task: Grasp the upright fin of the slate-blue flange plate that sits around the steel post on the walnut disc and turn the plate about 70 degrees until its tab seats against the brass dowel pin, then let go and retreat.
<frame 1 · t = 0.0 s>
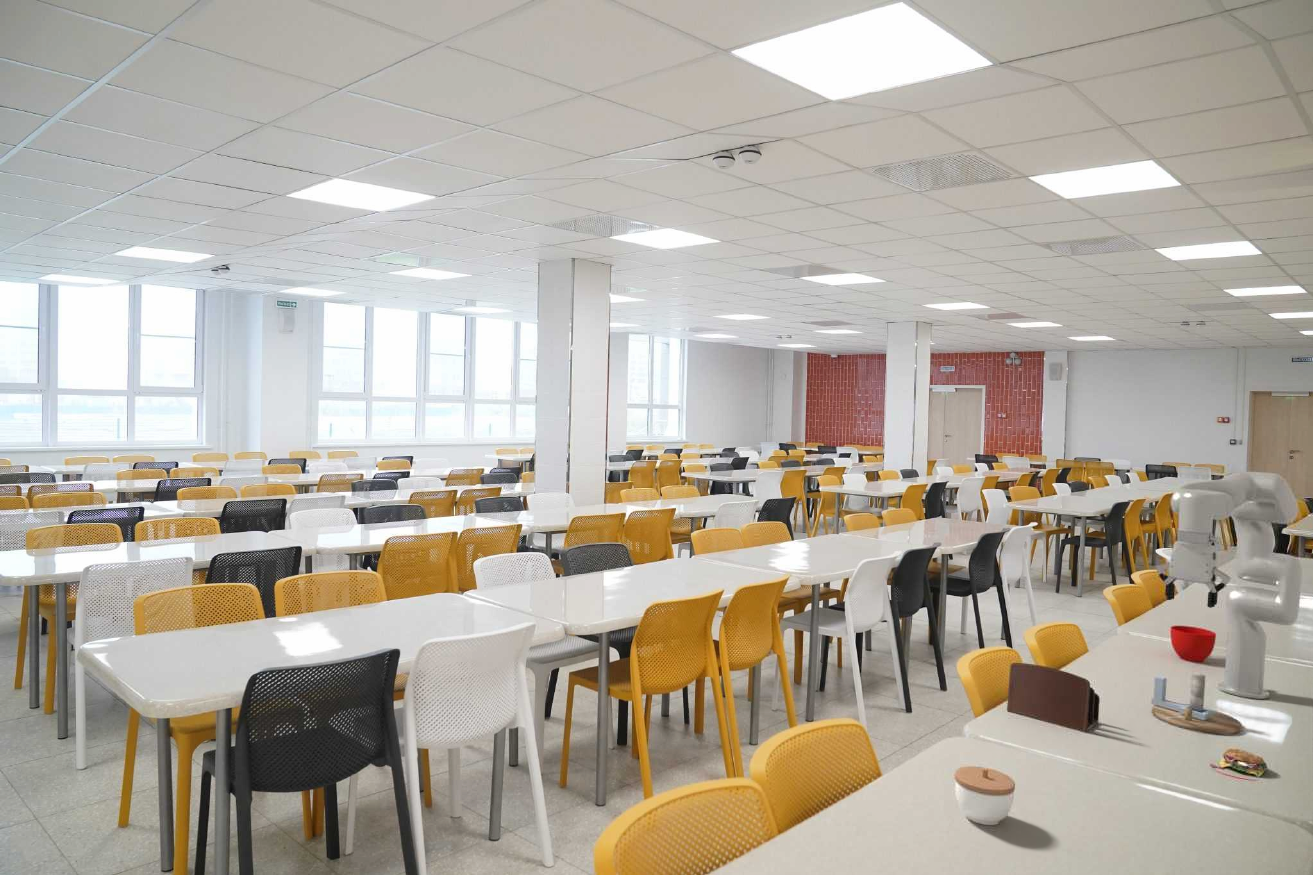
hand: (1190, 603, 222), 31 cm above the table, tool pointing down, fingers open, 9 cm apart
ceramic cup: (1191, 658, 288), on the table
hamburger: (1235, 770, 192), on the table
post base: (1195, 720, 223), on the table
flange: (1181, 696, 226), point 5 cm above the table, hinge at 0.0°
lidded jar: (982, 818, 161), on the table
letter holder: (1051, 718, 220), on the table
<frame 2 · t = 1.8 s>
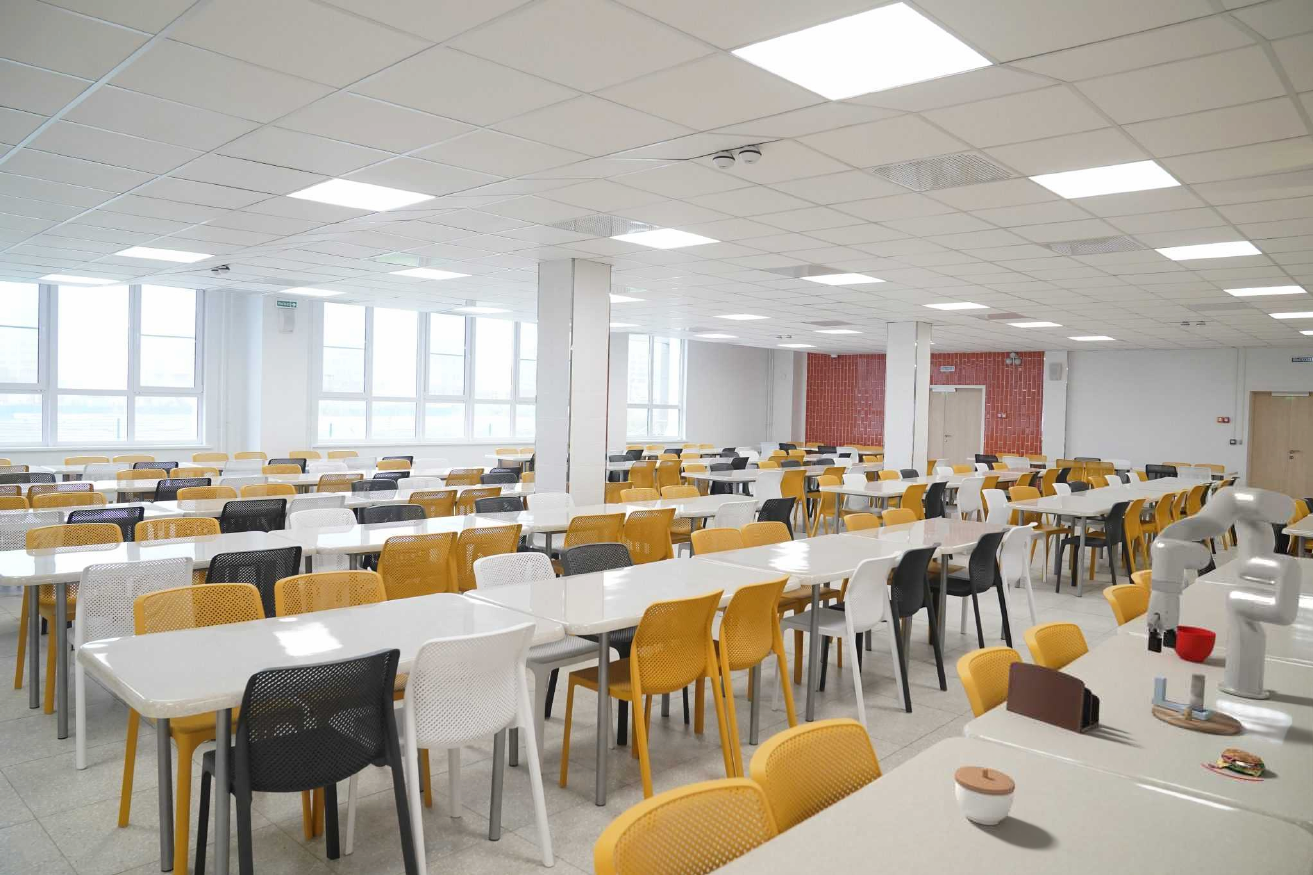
hand: (1161, 649, 230), 17 cm above the table, tool pointing down, fingers open, 9 cm apart
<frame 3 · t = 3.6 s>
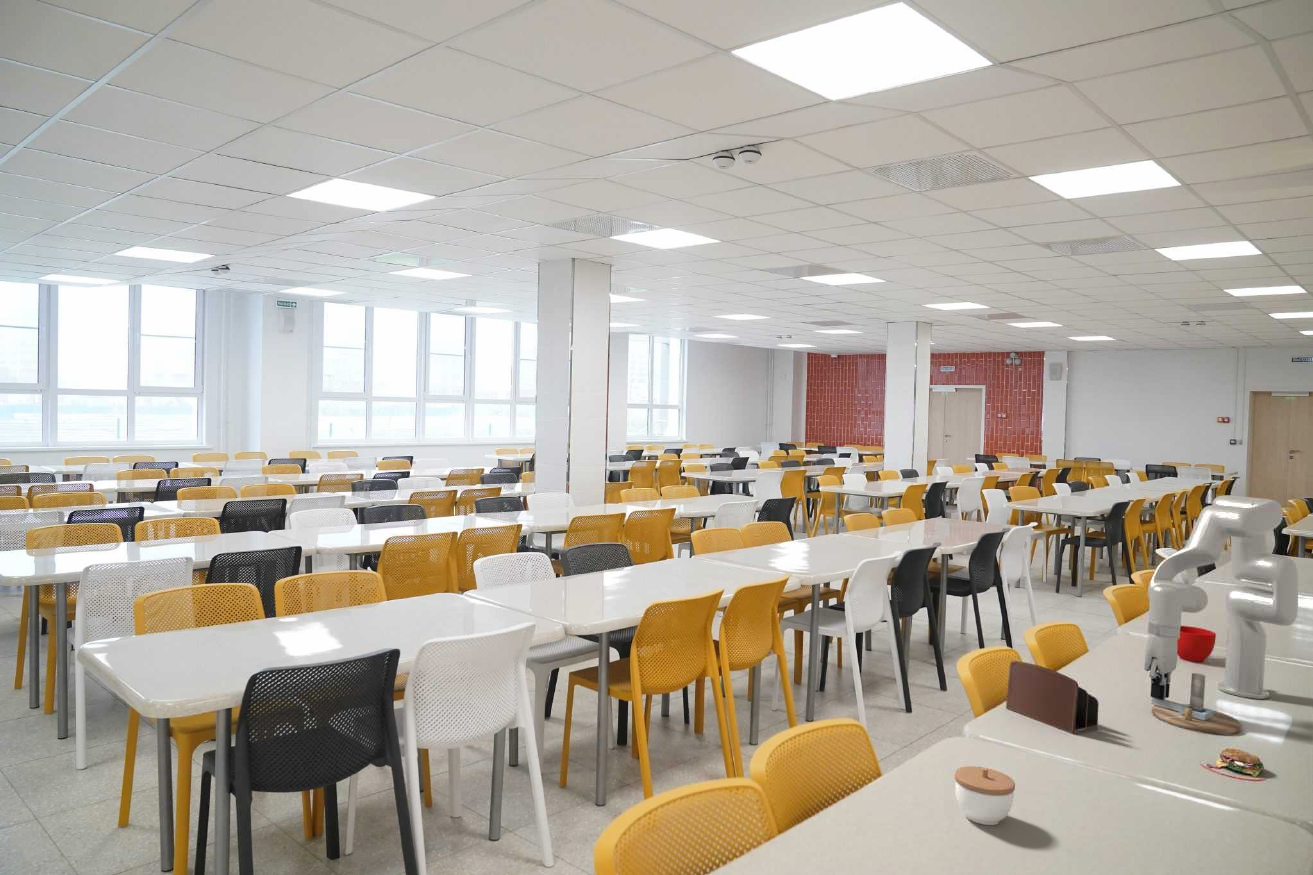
hand: (1159, 696, 230), 4 cm above the table, tool pointing down, fingers closed on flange, 2 cm apart
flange: (1181, 696, 226), point 5 cm above the table, hinge at 0.0°, touching gripper
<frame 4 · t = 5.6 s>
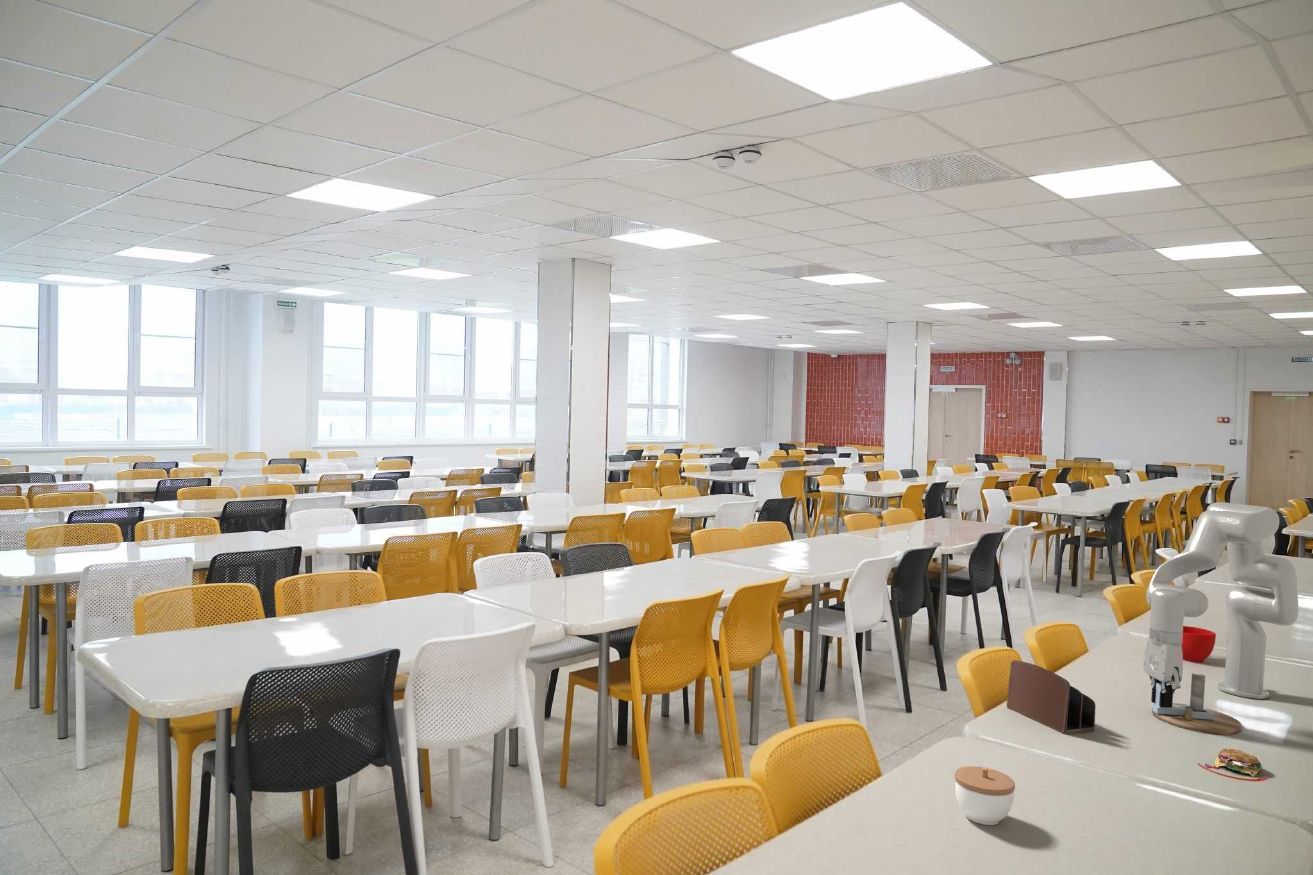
hand: (1161, 704, 224), 4 cm above the table, tool pointing down, fingers closed on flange, 2 cm apart
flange: (1182, 699, 223), point 5 cm above the table, hinge at 47.7°, touching gripper
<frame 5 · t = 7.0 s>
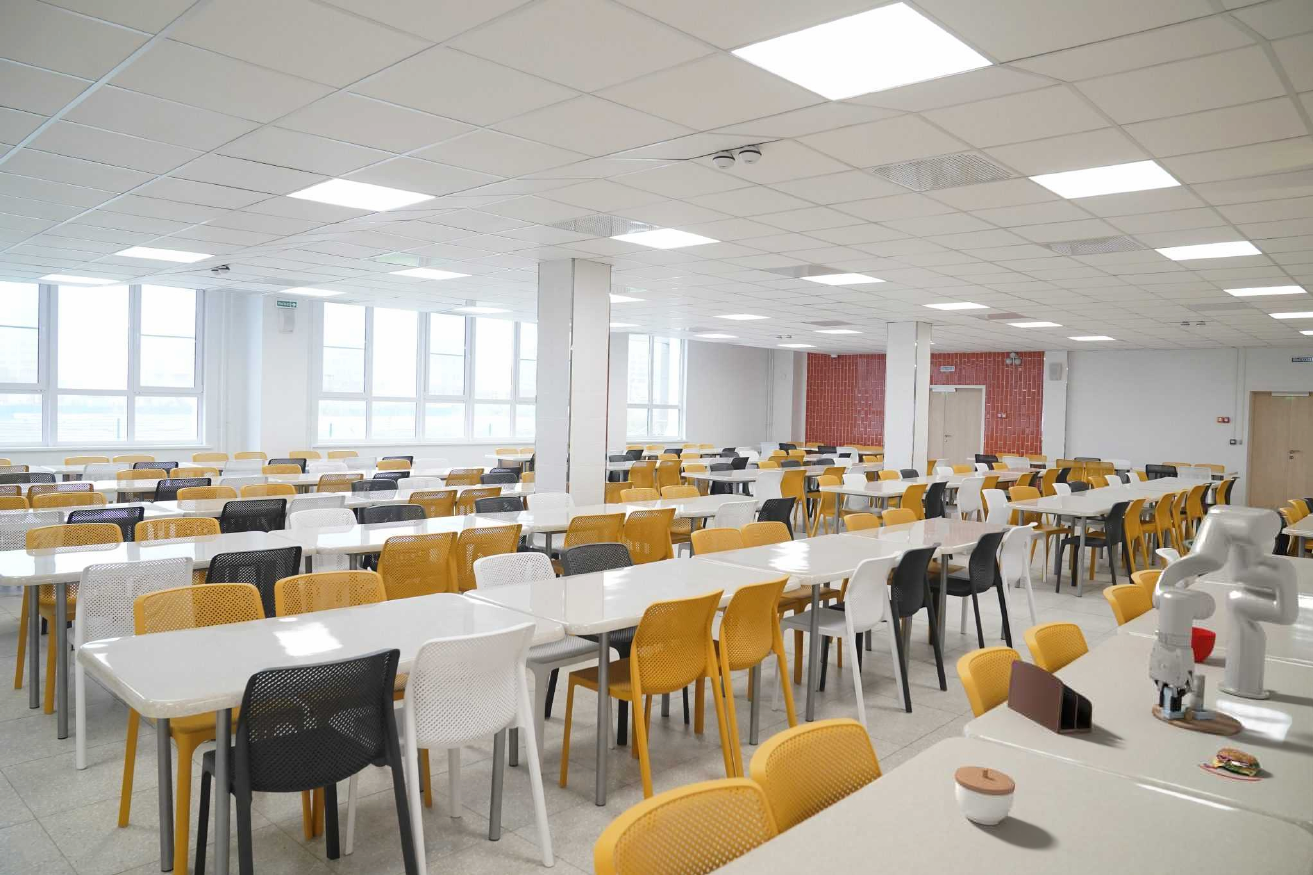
hand: (1169, 708, 221), 4 cm above the table, tool pointing down, fingers closed on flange, 2 cm apart
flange: (1185, 701, 222), point 5 cm above the table, hinge at 68.1°, touching gripper
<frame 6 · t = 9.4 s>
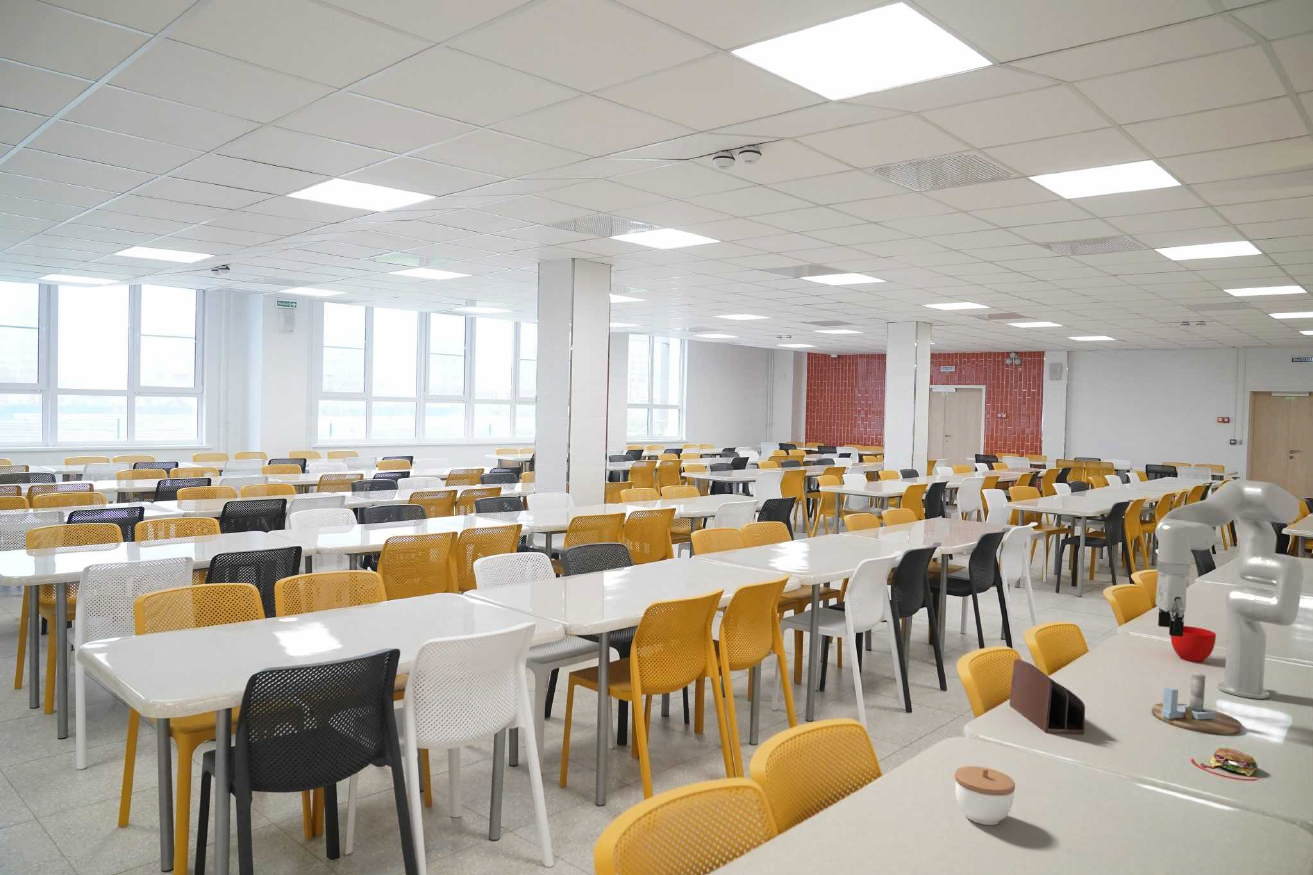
hand: (1170, 631, 230), 22 cm above the table, tool pointing down, fingers open, 9 cm apart
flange: (1185, 701, 222), point 5 cm above the table, hinge at 68.2°
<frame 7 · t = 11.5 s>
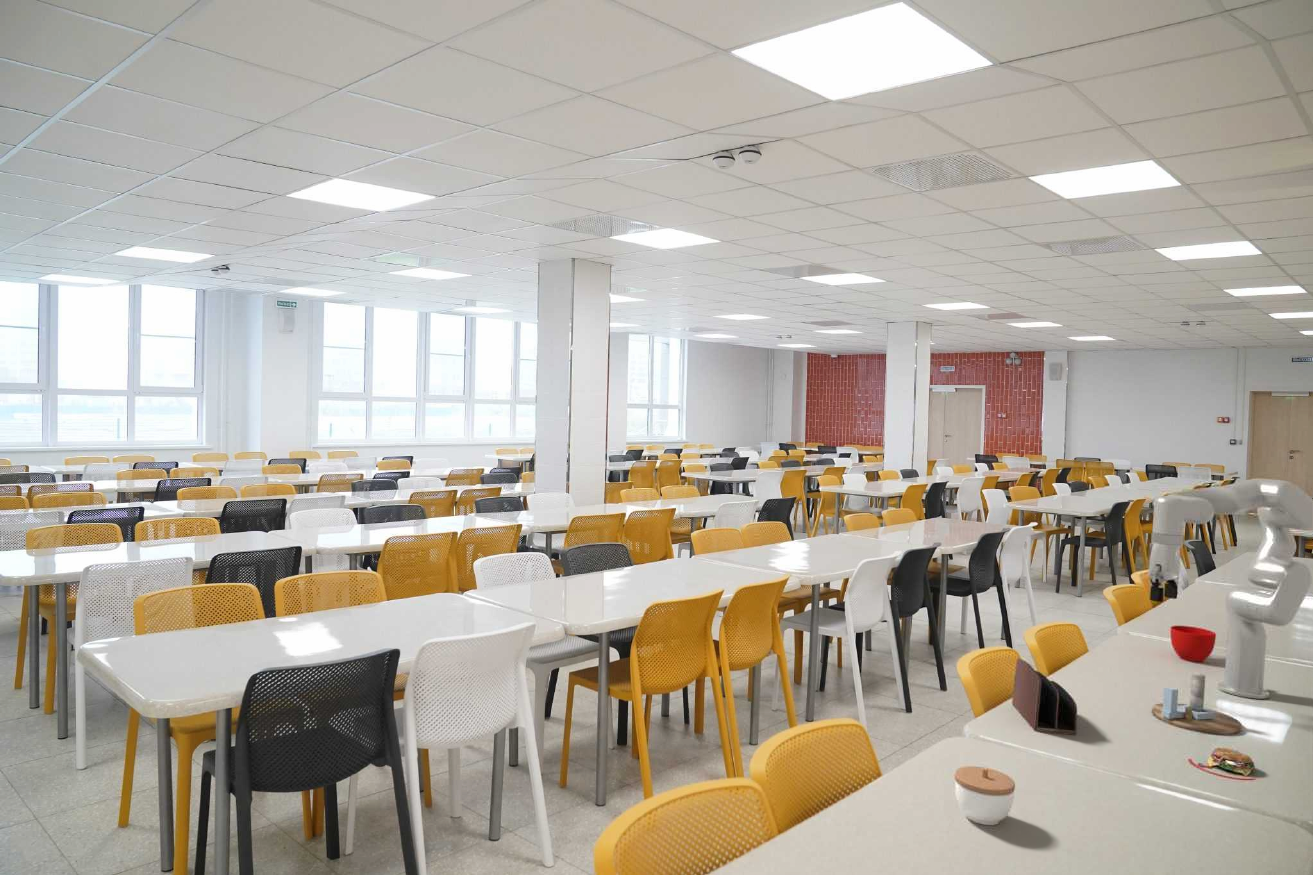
hand: (1163, 599, 241), 28 cm above the table, tool pointing down, fingers open, 9 cm apart
at the end: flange at +68° (first picture: +0°); the gripper is holding nothing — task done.
